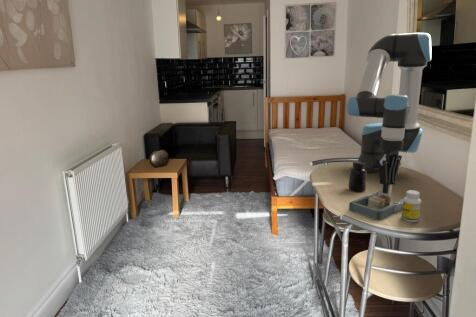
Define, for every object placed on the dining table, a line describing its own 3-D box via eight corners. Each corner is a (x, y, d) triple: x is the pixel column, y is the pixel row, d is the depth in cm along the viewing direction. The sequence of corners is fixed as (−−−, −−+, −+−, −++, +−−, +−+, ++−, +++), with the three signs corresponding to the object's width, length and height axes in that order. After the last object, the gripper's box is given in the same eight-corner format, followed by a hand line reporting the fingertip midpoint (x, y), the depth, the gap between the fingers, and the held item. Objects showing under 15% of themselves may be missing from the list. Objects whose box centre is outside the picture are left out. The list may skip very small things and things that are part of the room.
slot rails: (382, 195, 144) (382, 190, 144) (412, 204, 135) (412, 198, 135) (362, 204, 136) (363, 197, 135) (393, 213, 127) (393, 207, 126)
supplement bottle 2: (398, 216, 125) (401, 189, 122) (413, 215, 125) (416, 189, 123) (406, 222, 119) (410, 195, 117) (422, 222, 120) (425, 194, 117)
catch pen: (365, 203, 137) (366, 195, 136) (395, 212, 128) (396, 204, 127) (349, 210, 130) (349, 202, 129) (379, 220, 121) (380, 212, 121)
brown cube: (379, 204, 136) (380, 194, 135) (389, 207, 133) (390, 197, 132) (373, 206, 133) (374, 196, 132) (383, 209, 130) (384, 199, 129)
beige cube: (373, 206, 133) (374, 196, 132) (383, 210, 130) (384, 199, 129) (367, 209, 131) (368, 199, 130) (377, 212, 128) (378, 202, 127)
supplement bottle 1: (366, 192, 148) (368, 164, 145) (349, 191, 149) (351, 163, 146) (364, 187, 155) (366, 160, 152) (347, 186, 156) (349, 159, 153)
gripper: (391, 135, 135) (385, 194, 141) (372, 139, 127) (367, 202, 133) (411, 137, 129) (404, 199, 135) (393, 142, 121) (386, 208, 127)
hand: (385, 200), depth 134 cm, fingers closed
